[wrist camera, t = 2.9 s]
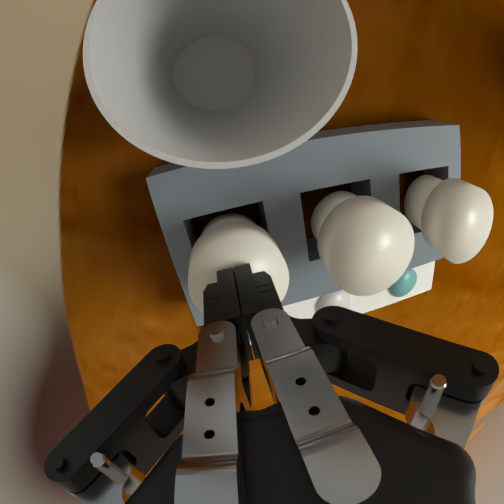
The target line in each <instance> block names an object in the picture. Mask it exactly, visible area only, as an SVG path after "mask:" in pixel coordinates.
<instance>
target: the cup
mask: <svg viewBox="0 0 504 504" xmlns="http://www.w3.org/2000/svg"><path fill="white" fill-rule="evenodd" d="M356 61H357V33H356V27H355V22H354V19H353V15H352V12H351V10H350V7H349V5H348V2H347V0H97V1H96V3H95V5H94V7H93V9H92V12H91V14H90V17H89V20H88V23H87V26H86V30H85V35H84V42H83V66H84V73H85V78H86V82H87V85H88V88H89V91H90V93H91V96H92V98H93V100H94V102H95V104H96V106H97V107H98V109H99V111H100V112H101V114H102V115H103V116H104V118H105V119H106V120H107V121H108V123H109V124H110V125H111V126H112V127H113V128H114V129H115V130H116V131H117V132H118V133H119V134H120V135H121V136H122V137H124V138H125V139H126V140H127V141H129V142H130V143H132V144H133V145H134V146H136V147H138V148H139V149H141V150H143V151H144V152H146V153H148V154H150V155H153V156H155V157H157V158H160V159H162V160H165V161H168V162H171V163H175V164H179V165H183V166H188V167H194V168H203V169H228V168H238V167H244V166H249V165H254V164H258V163H261V162H265V161H268V160H270V159H273V158H276V157H278V156H280V155H283V154H285V153H287V152H289V151H291V150H292V149H294V148H296V147H298V146H299V145H301V144H302V143H304V142H305V141H307V140H308V139H309V138H311V137H312V136H313V135H314V134H316V133H317V132H318V131H319V130H320V129H321V128H322V127H323V126H324V125H325V124H326V123H327V122H328V121H329V120H330V119H331V117H332V116H333V115H334V114H335V112H336V111H337V109H338V108H339V106H340V105H341V103H342V102H343V100H344V98H345V96H346V94H347V92H348V90H349V87H350V85H351V82H352V79H353V76H354V72H355V67H356Z"/></svg>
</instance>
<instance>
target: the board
mask: <svg viewBox="0 0 504 504" xmlns="http://www.w3.org/2000/svg"><path fill="white" fill-rule="evenodd" d="M419 170H424V175H432V176H434V177H437V178H439V179H441V180H445V179H448V178H458V179H460V176H461V147H460V125H457V124H452V123H447V122H442V121H436V120H422V121H405V122H392V123H381V124H371V125H362V126H353V127H345V128H337V129H330V130H323V131H318V132H317V133H316V134H314V135H313V136H312V137H311V138H309V139H308V140H307V141H305V142H304V143H302V144H301V145H299V146H298V147H296V148H294V149H292V150H291V151H289V152H287V153H285V154H283V155H280V156H278V157H276V158H273V159H270V160H268V161H265V162H261V163H258V164H254V165H249V166H244V167H238V168H228V169H203V168H194V167H188V166H183V165H179V164H175V163H168V164H165V165H161V166H158V167H155V168H154V169H153V170H152V171H151V172H150V173H149V175H148V176H147V177H146V181H147V185H148V188H149V191H150V195H151V198H152V201H153V204H154V208H155V211H156V214H157V217H158V220H159V223H160V226H161V229H162V232H163V235H164V238H165V241H166V244H167V247H168V250H169V253H170V256H171V258H172V261H173V264H174V267H175V270H176V272H177V275H178V278H179V281H180V283H181V286H182V289H183V291H184V294H185V297H186V299H187V302H188V304H189V307H190V310H191V312H192V315H193V317H194V320H195V322H196V325H197V326H202V325H204V314H203V313H202V312H200V311H199V310H198V308H197V307H196V306H195V305H194V303H193V302H192V299H191V297H190V294H189V291H188V272H189V260H190V254H191V251H192V248H193V246H194V244H195V242H196V241H197V239H196V236H195V232H194V229H193V225H192V222H191V218H195V217H199V216H202V215H206V214H210V213H215V212H219V211H223V210H227V209H231V208H235V207H239V206H244V205H248V204H252V203H256V202H258V207H259V212H260V217H261V222H262V227H263V229H264V230H266V231H267V232H268V233H269V234H270V235H271V236H272V238H273V239H274V241H275V242H276V244H277V246H278V248H279V250H280V252H281V254H282V256H283V258H284V260H285V262H286V264H287V267H288V271H289V286H288V290H287V292H286V295H285V297H284V299H283V300H282V302H281V304H282V306H285V305H289V304H293V303H297V302H301V301H304V300H308V299H312V298H315V297H319V296H323V295H326V294H330V293H333V292H337V291H340V290H342V289H341V288H340V287H339V285H338V284H337V283H336V281H335V280H334V278H333V277H332V275H331V274H330V273H329V271H328V270H327V268H326V267H325V265H324V264H323V263H322V261H321V259H320V256H319V253H318V246H317V242H318V241H317V240H316V238H315V237H312V238H308V239H306V232H305V225H304V217H303V210H302V203H301V196H300V193H302V192H306V191H311V190H316V189H321V188H326V187H331V186H336V185H341V184H346V183H351V193H353V194H355V195H356V196H372V197H375V198H377V199H379V200H381V201H382V202H384V203H386V204H387V205H389V206H390V207H392V208H394V209H395V210H397V211H398V212H400V190H399V174H401V173H407V172H413V171H419ZM404 216H405V217H406V215H404ZM406 218H407V217H406ZM408 221H409V220H408ZM409 222H410V221H409ZM410 224H411V226H412V228H413V232H414V238H415V245H414V251H413V255H412V258H411V261H410V263H409V265H408V267H407V269H406V270H409V269H412V268H415V267H418V266H421V265H424V264H427V263H430V262H432V261H435V260H438V259H441V258H444V256H442V255H441V254H440V253H439V252H437V251H436V250H435V249H433V248H432V247H431V246H430V245H428V244H427V242H426V241H425V239H424V237H423V235H422V231H421V229H419V228H418V227H416V226H415V225H413V224H412V223H411V222H410ZM406 270H405V271H406Z"/></svg>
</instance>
